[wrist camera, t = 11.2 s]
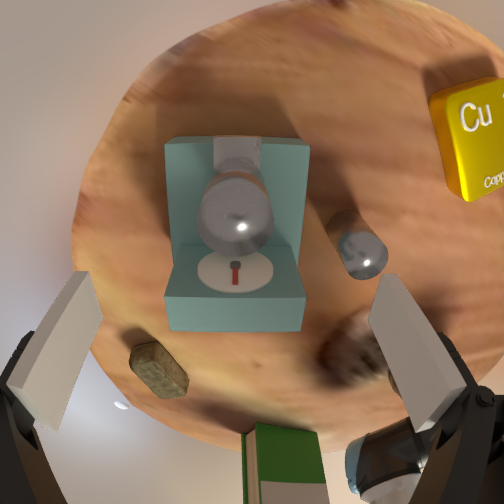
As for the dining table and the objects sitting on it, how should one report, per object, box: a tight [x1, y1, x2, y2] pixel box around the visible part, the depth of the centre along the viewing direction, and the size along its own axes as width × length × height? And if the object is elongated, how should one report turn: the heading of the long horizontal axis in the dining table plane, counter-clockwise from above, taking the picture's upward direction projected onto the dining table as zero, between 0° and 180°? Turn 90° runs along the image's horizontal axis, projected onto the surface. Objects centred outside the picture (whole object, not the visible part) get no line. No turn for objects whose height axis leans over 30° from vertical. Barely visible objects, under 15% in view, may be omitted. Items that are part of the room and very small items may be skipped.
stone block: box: [129, 342, 189, 399], centre depth 48 cm, size 6×12×5 cm, turn 22°
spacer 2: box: [327, 210, 388, 280], centre depth 35 cm, size 5×5×8 cm
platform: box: [214, 135, 261, 170], centre depth 28 cm, size 9×4×3 cm, turn 178°
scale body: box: [164, 136, 310, 332], centre depth 29 cm, size 15×14×14 cm
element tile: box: [429, 77, 504, 202], centre depth 30 cm, size 15×15×5 cm
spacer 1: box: [197, 159, 274, 257], centre depth 23 cm, size 5×5×8 cm
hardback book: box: [241, 423, 330, 504], centre depth 55 cm, size 18×7×24 cm, turn 60°
